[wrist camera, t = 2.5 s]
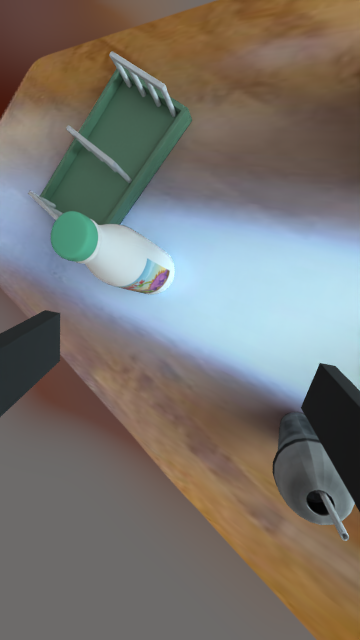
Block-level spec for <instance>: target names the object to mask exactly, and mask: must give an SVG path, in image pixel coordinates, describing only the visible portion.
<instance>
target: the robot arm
mask: <svg viewBox="0 0 360 640" xmlns="http://www.w3.org/2000/svg"><path fill="white" fill-rule="evenodd" d="M59 361H60V313H56V312H51V311H46V310H45V311H43V312H41V313H39V314H37V315H35V316H33V317H31V318H30V319H28V320H26V321H24V322H22V323H20V324H18V325H16V326H15V327H13V328H11V329H9V330H7V331H5V332H3V333H1V334H0V417H1V416H2V415H3V414H4V413H5V412H6V411H7V410H8V409H9V408H10V407H11V406H12V405H14V404H15V403H16V402H17V401H18V400H19V399H20V398H21V397H22V396H23V395H24V394H25V393H26V392H27V391H28V390H29V389H30V388H32V387H33V386H34V385H35V384H36V383H37V382H38V381H39V380H40V379H41V378H42V377H43V376H44V375H45V374H46V373H47V372H49V371H50V369H52V368H53V367H54V366H55V365H56V364H57V363H58V362H59ZM301 409H302V411H303V412H304V414H305V416H306V418H307V419H308V421H309V423H310V425H311V427H312V428H313V430H314V432H315V434H316V435H317V437H318V439H319V441H320V442H321V444H322V446H323V448H324V450H325V451H326V453H327V455H328V457H329V458H330V460H331V462H332V464H333V465H334V467H335V469H336V471H337V473H338V474H339V476H340V478H341V480H342V481H343V483H344V485H345V487H346V488H347V490H348V492H349V494H350V496H351V497H352V499H353V501H354V503H355V504H356V506H357V508H358V510H359V511H360V391H359V390H358V389H357V388H356V387H355V386H354V385H353V384H352V383H351V381H350V380H349V379H348V378H347V377H346V376H345V375H344V374H343V373H342V372H341V371H340V370H339V369H338V368H337V367H336V366H332V365H327V364H322V363H320V364H319V367H318V369H317V371H316V374H315V376H314V378H313V381H312V383H311V385H310V388H309V390H308V392H307V395H306V397H305V399H304V402H303V404H302V407H301Z"/></svg>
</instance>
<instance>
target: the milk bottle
mask: <svg viewBox="0 0 360 640" xmlns="http://www.w3.org/2000/svg"><path fill="white" fill-rule="evenodd" d="M51 243H52V247H53V249H54V251H55V252H56V253H57V254H58V255H59V256H61V257H62V258H64V259H67V260H70V261H74V262H77V263H84V264H85V265H86V266H87V267H88V269H89V270H90V271H91V272H92V273H93V275H95V276H96V277H97V278H98V279H100V280H101V281H103V282H105V283H107V284H109V285H112V286H116V287H119V288H123V289H127V290H132V291H136V292H140V293H145V294H151V295H154V294H159V293H161V292H163V291H165V290H166V289H167V288H168V287H169V286H170V284H171V283H172V281H173V278H174V274H175V266H174V262H173V260H172V258H171V257H170V255H169V254H168V253H166V252H165V251H164V250H162V249H161V248H160V247H158V246H157V245H155V244H154V243H152V242H151V241H150V240H148V239H147V238H145V237H144V236H142V235H141V234H139V233H137V232H136V231H134V230H132V229H130V228H128V227H126V226H122V225H118V224H105V225H98V224H97V223H96V222H95V221H93V220H92V219H90V218H88V217H87V216H85V215H83V214H81V213H79V212H75V211H69V212H66V213H64V214H62V215H61V216H59V217H58V219H57V220H56V221H55V223H54V225H53V227H52V231H51Z"/></svg>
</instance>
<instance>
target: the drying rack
mask: <svg viewBox="0 0 360 640" xmlns="http://www.w3.org/2000/svg"><path fill="white" fill-rule="evenodd" d="M109 56H110V57H111V59H112V60H113V62H114V64H115V66H116V67H117V69H116V71H115V72H114V74H113V76H112V77H111V79H110V81H109V82H108V84H107V85H106V87H105V89H104V90H103V92H102V94H101V95H100V97H99V99H98V100H97V102H96V104H95V105H94V107H93V109H92V110H91V112H90V114H89V115H88V117H87V119H86V120H85V122H84V124H83V125H82V127H81V129H80V130H79V132H77V131H75V130H74V129H73V128H71V127H70V126H69V125H68V126H67V128H66V129H67V130H68V131H69V133H70V134H72V135H73V136H74V137H75V139H74V140H73V142H72V144H71V145H70V147H69V149H68V150H67V152H66V154H65V155H64V157H63V159H62V160H61V162H60V164H59V165H58V167H57V169H56V170H55V172H54V174H53V175H52V177H51V179H50V180H49V182H48V184H47V185H46V187H45V189H44V190H43V192H42V194H41V195H40V196H39V195H37V194H35V193H34V192H32V191H29V193H28V194H29V195H30V196H31V197H32V198H33V199H34V200H35V201H36V202H37V203H38V204H39V205H40V206H41V207H42V208H43V209H44V210H46V211H47V212H48V213H49V214H50V215H51V216H52V217H53V218H54V219H55V220H57V219H58V217H59V216H61V215H62V214H64V213H66V212H69V211H75V212H79V213H81V214H83V215H85V216H87V217H88V218H90V219H92V220H93V221H95V222H96V223H97V224H98V225H105V224H118V225H120V223H121V222H122V220H123V219H124V217H125V216H126V215H127V213H128V212H129V210H130V209H131V207H132V206H133V205H134V203H135V202H136V200H137V199H138V197H139V196H140V194H141V193H142V192H143V190H144V189H145V187H146V186H147V184H148V183H149V182H150V180H151V179H152V177H153V176H154V174H155V173H156V172H157V170H158V169H159V167H160V166H161V164H162V163H163V162H164V160H165V159H166V157H167V156H168V154H169V153H170V151H171V150H172V149H173V147H174V146H175V144H176V143H177V141H178V140H179V139H180V137H181V136H182V134H183V133H184V131H185V130H186V129H187V127H188V126H189V124H190V123H191V121H192V118H191V116H190V113H189V110H188V108H187V107H185V106H184V105H182V104H181V103H179V102H178V101H176V100H174V99H173V98H171V97H170V96H169V94H168V92H167V88H166V86H165V84H163V83H162V82H160V81H158V80H157V79H155V78H154V77H152V76H151V75H149V74H147V73H146V72H144V71H143V70H141V69H139V68H138V67H136V66H135V65H133V64H131V63H130V62H128V61H127V60H125V59H123V58H122V57H120V56H119V55H117V54H116V53H114V52H111V53H110V55H109Z"/></svg>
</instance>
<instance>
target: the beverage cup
mask: <svg viewBox="0 0 360 640" xmlns="http://www.w3.org/2000/svg"><path fill="white" fill-rule="evenodd" d="M273 476H274V479H275V482H276V485H277V487H278V490H279V492H280V494H281V495H282V497H283V499H284V500H285V502H286V503H287V505H288V506H289V507H290V508H291V509H292V510H293V511H294V512H295V513H297V514H298V515H299V516H300V517H302V518H304V519H306V520H308V521H309V522H312V523H316V524H320V525H332V524H335V526H336V528H337V530H338V533H339V535H340V537H341V538H342V539H343V540H345V541H347V540H348V539H349V535H348V533H347V532H346V530H345V528H344V526H343V524H342V522H341V521H343V520H344V519H345V518H346V517H347V516H348V515H349V514H350V513H351V511H352V509H353V506H354V504H355V503H354V501H353V499H352V497H351V496H350V494H349V492H348V490H347V488H346V487H345V485H344V483H343V481H342V480H341V478H340V476H339V474H338V473H337V471H336V469H335V467H334V465H333V464H332V462H331V460H330V458H329V457H328V455H327V453H326V451H325V450H324V448H323V446H322V444H321V442H320V441H319V439H318V437H317V435H316V434H315V432H314V430H313V428H312V427H311V425H310V423H309V421H308V419H307V418H306V416H305V415H304V414H302V413H298V412H292V413H289V414H287V415H285V416H284V417H283V418H282V420H281V423H280V428H279V441H278V451H277V453H276V456H275V458H274V461H273Z"/></svg>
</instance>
